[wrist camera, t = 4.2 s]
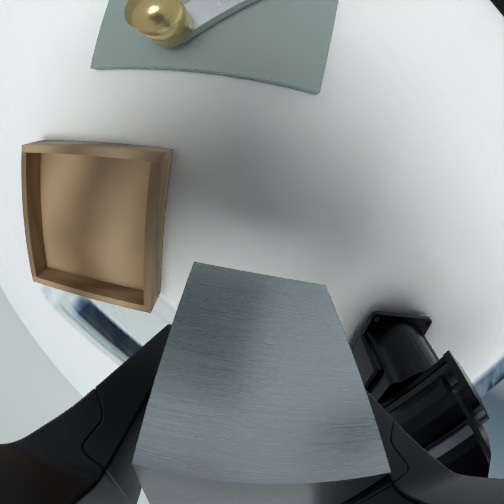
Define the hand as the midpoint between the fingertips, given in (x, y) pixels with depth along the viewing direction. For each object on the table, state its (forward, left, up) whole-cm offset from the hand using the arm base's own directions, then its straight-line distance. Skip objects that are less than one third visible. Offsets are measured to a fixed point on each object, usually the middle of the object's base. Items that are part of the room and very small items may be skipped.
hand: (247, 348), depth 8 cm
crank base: (-1, -18, -11) cm, 21 cm away
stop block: (0, 0, -1) cm, 1 cm away
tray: (+11, +1, -11) cm, 16 cm away
